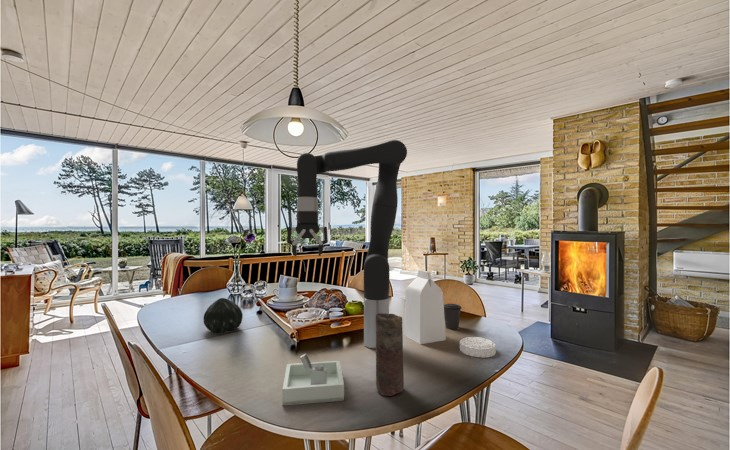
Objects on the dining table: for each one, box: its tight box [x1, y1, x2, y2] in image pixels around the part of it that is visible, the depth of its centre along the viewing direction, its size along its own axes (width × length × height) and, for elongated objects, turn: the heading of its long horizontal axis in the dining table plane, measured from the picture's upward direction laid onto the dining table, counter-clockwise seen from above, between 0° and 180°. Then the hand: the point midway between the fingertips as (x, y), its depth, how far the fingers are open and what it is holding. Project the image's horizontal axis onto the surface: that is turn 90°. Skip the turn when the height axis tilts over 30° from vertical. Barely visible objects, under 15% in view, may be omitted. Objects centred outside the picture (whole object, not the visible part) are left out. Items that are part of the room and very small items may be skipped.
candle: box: [375, 313, 405, 397], centre depth 88 cm, size 8×7×20 cm
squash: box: [203, 297, 244, 335], centre depth 138 cm, size 14×15×15 cm
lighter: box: [300, 353, 327, 385], centre depth 90 cm, size 7×2×8 cm, turn 80°
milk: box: [403, 269, 446, 345], centre depth 130 cm, size 12×12×26 cm
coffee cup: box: [444, 303, 462, 330], centre depth 143 cm, size 8×8×10 cm
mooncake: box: [459, 336, 497, 359], centre depth 116 cm, size 12×12×4 cm
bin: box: [281, 360, 345, 407], centre depth 89 cm, size 15×15×4 cm
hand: (307, 255), depth 119 cm, fingers open, 8 cm apart
